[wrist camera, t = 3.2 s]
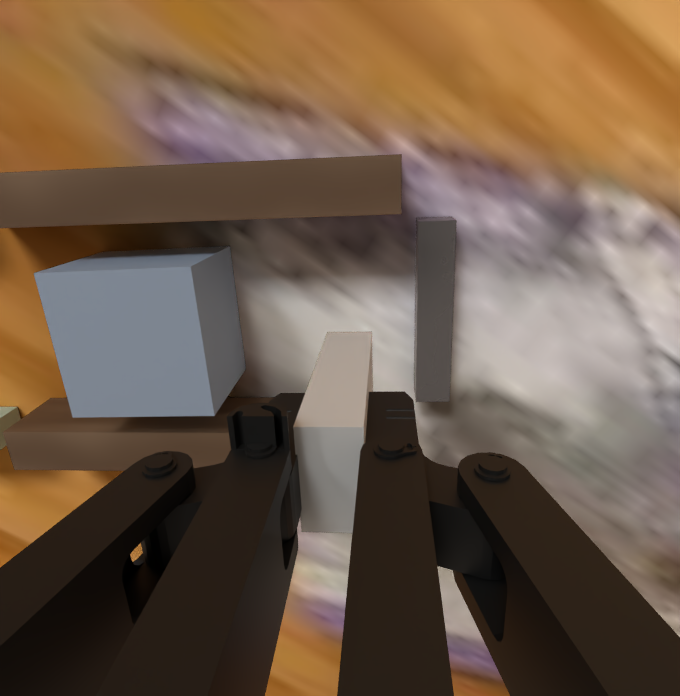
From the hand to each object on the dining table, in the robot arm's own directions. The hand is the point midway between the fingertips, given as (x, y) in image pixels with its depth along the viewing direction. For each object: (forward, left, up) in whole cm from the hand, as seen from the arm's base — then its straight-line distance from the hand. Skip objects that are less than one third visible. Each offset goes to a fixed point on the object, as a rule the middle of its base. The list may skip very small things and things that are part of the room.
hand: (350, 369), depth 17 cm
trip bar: (0, +3, -6) cm, 7 cm away
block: (0, -9, -7) cm, 11 cm away
